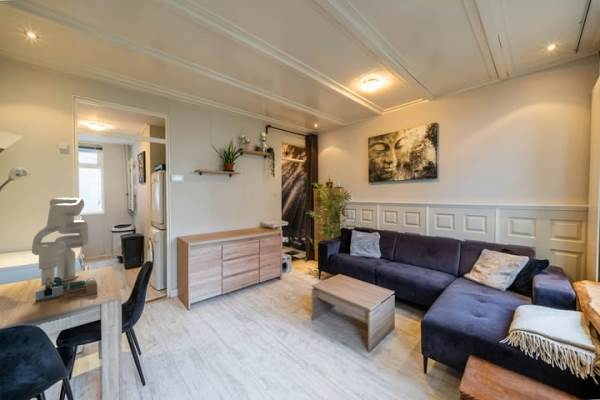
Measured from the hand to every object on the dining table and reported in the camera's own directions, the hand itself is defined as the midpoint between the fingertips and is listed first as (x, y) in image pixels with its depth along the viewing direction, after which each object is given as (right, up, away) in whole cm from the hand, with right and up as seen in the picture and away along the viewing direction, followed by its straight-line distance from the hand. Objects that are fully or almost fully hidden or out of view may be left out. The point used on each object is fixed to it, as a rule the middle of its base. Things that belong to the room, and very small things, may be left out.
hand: (48, 293), depth 137 cm
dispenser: (+15, -3, +6) cm, 16 cm away
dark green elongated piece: (-4, -3, +15) cm, 16 cm away
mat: (0, -3, 0) cm, 3 cm away
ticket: (0, -2, 0) cm, 2 cm away
